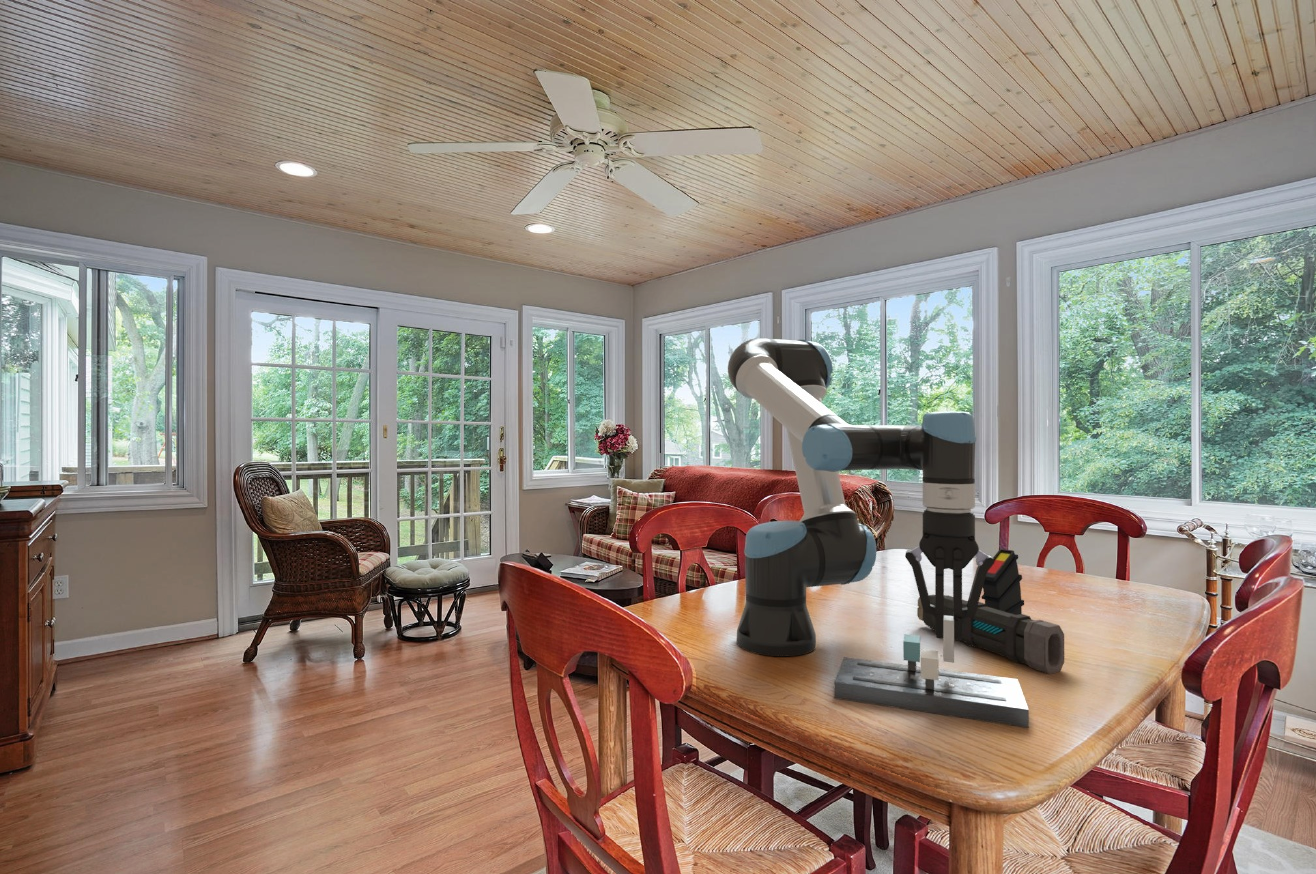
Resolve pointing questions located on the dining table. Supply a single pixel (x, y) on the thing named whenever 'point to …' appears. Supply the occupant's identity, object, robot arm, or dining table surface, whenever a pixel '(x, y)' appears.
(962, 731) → the dining table surface
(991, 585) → the magazine
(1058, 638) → the tube
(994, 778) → the dining table surface
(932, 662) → the fader near
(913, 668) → the fader far
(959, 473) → the robot arm
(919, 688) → the console
